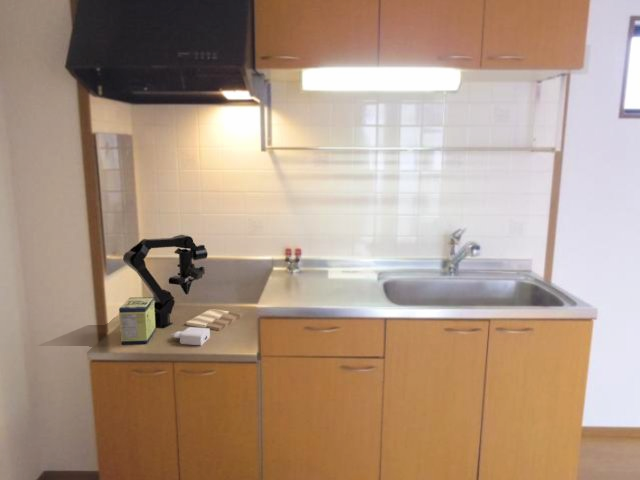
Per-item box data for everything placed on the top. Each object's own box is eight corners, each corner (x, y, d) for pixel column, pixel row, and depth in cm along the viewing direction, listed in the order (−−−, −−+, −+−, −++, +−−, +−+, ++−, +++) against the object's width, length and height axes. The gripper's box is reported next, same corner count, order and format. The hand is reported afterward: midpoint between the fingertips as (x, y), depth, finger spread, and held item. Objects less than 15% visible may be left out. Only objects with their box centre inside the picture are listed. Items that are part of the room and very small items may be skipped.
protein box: (156, 330, 206) (154, 296, 203) (147, 344, 191) (145, 308, 188) (131, 330, 204) (129, 297, 202) (120, 345, 189) (118, 308, 186)
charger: (177, 335, 201) (210, 338, 198) (166, 343, 192) (201, 346, 189) (176, 325, 200) (209, 327, 197) (166, 333, 191) (200, 335, 188)
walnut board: (219, 331, 206) (219, 327, 205) (206, 328, 208) (206, 325, 208) (242, 316, 224) (242, 313, 224) (229, 314, 226) (229, 311, 226)
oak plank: (204, 328, 208) (204, 325, 208) (186, 325, 212) (186, 322, 211) (228, 314, 227) (228, 311, 226) (211, 311, 230) (210, 308, 230)
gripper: (187, 268, 204) (189, 302, 207) (211, 259, 222) (212, 290, 224) (167, 265, 208) (168, 299, 211) (192, 257, 225) (193, 288, 228)
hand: (186, 294), depth 219 cm, fingers closed
